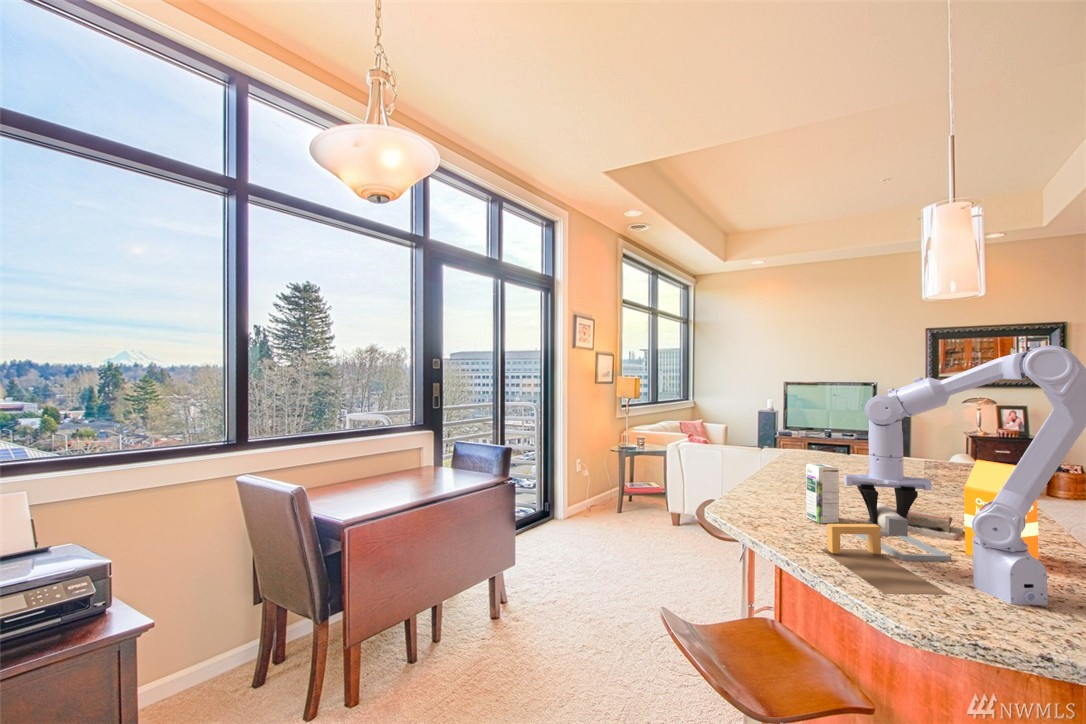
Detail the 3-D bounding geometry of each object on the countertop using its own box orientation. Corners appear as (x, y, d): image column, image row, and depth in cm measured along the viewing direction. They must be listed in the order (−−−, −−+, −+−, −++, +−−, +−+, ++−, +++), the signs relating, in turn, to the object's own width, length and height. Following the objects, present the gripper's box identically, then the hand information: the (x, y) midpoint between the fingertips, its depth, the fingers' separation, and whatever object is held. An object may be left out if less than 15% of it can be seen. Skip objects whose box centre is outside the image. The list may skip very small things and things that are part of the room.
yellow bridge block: (881, 553, 105) (880, 527, 105) (832, 553, 105) (832, 526, 105) (875, 550, 107) (874, 524, 107) (827, 549, 107) (827, 523, 107)
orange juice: (1012, 568, 100) (1009, 467, 101) (964, 553, 109) (962, 460, 109) (1039, 564, 102) (1037, 465, 103) (991, 550, 111) (988, 458, 111)
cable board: (950, 600, 87) (950, 594, 87) (884, 599, 87) (884, 593, 87) (872, 554, 109) (872, 549, 109) (820, 553, 109) (819, 548, 109)
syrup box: (805, 517, 136) (804, 463, 137) (826, 516, 137) (825, 463, 137) (819, 523, 131) (818, 467, 131) (840, 523, 131) (839, 466, 131)
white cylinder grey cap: (910, 539, 94) (910, 518, 94) (885, 537, 96) (886, 515, 96) (889, 522, 105) (889, 503, 105) (867, 520, 106) (867, 501, 106)
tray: (951, 565, 102) (951, 555, 102) (902, 565, 102) (902, 555, 102) (897, 538, 119) (897, 530, 119) (855, 538, 119) (855, 529, 119)
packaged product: (866, 506, 131) (878, 500, 137) (866, 525, 131) (879, 518, 137) (954, 521, 117) (963, 513, 124) (954, 542, 117) (964, 533, 124)
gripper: (850, 456, 99) (851, 526, 99) (937, 460, 95) (939, 533, 95) (840, 451, 106) (841, 516, 106) (922, 454, 102) (923, 522, 102)
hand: (887, 523), depth 101 cm, fingers closed on white cylinder grey cap, 4 cm apart
